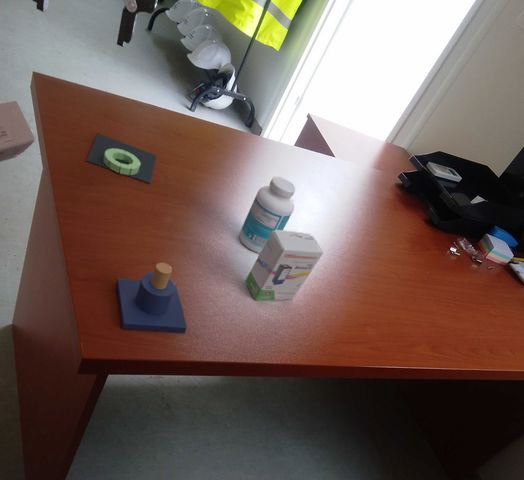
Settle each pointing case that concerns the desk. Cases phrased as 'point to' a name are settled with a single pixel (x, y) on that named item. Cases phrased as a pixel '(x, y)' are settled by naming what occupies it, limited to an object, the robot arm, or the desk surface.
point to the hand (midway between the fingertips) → (82, 27)
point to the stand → (151, 302)
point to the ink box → (283, 265)
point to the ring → (119, 167)
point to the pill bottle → (268, 213)
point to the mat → (108, 143)
